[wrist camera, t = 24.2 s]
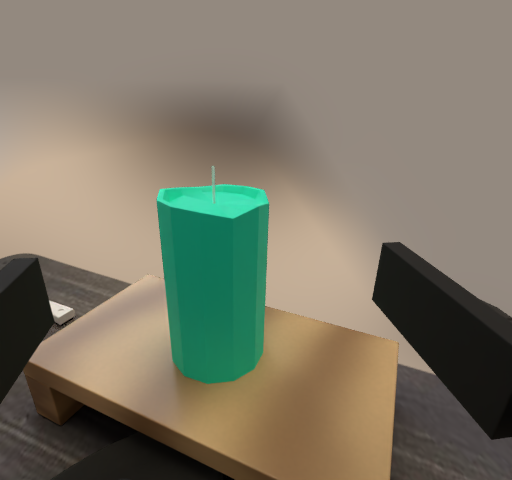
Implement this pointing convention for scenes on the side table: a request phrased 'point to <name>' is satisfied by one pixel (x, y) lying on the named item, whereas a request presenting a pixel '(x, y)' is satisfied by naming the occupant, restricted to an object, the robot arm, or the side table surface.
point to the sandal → (139, 463)
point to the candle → (215, 277)
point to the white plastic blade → (61, 312)
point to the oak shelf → (229, 391)
